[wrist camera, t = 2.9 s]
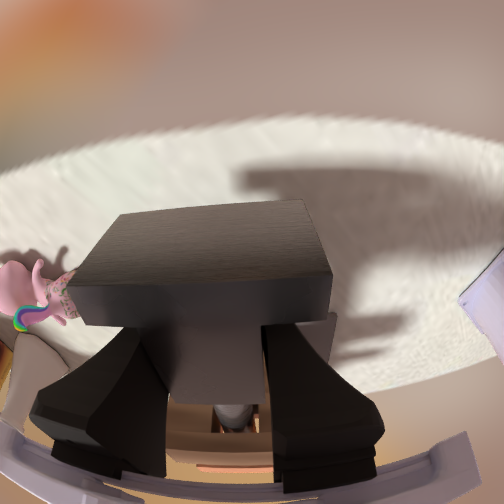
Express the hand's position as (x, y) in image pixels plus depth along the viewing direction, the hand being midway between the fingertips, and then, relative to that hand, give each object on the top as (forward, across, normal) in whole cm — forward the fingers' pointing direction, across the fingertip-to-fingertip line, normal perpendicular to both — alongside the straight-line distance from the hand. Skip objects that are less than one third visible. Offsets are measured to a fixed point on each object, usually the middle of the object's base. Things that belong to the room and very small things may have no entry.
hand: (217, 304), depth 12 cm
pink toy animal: (+6, +16, +2) cm, 17 cm away
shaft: (+1, 0, +5) cm, 5 cm away
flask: (+6, +23, +12) cm, 26 cm away
